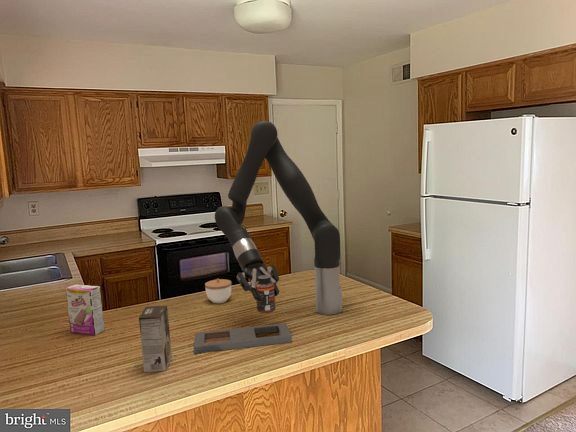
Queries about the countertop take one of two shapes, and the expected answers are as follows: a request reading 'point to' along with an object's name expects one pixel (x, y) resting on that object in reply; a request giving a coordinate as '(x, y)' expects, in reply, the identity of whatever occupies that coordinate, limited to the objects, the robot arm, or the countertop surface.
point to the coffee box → (155, 338)
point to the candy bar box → (85, 309)
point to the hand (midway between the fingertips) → (268, 297)
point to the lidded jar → (218, 290)
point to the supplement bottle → (265, 294)
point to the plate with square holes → (240, 338)
